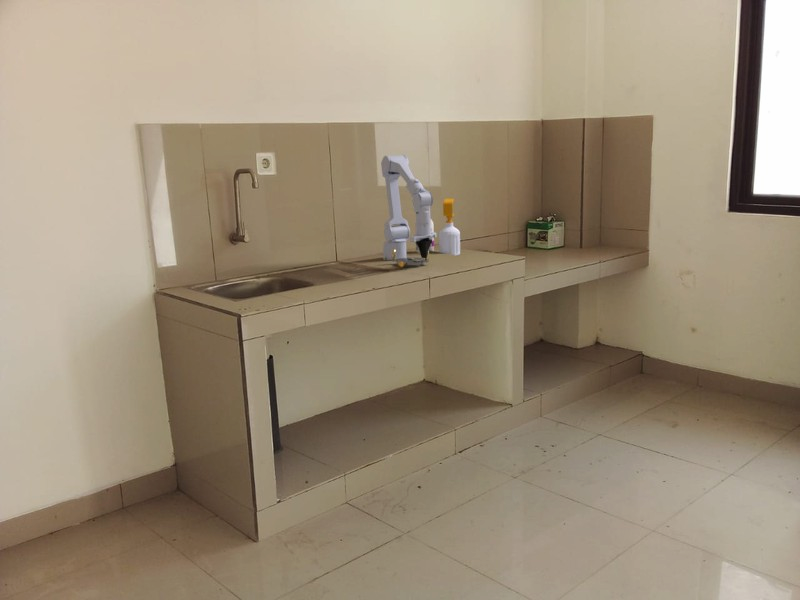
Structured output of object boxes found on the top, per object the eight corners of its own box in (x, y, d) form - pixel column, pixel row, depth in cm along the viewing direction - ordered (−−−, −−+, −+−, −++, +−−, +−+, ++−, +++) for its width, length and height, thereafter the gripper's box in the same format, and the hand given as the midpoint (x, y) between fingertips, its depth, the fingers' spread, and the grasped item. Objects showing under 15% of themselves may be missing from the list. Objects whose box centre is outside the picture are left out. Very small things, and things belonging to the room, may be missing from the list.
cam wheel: (381, 269, 263) (380, 254, 262) (397, 261, 279) (396, 247, 277) (419, 270, 258) (419, 255, 257) (433, 262, 273) (432, 248, 272)
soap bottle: (461, 253, 303) (461, 197, 298) (457, 256, 295) (457, 199, 289) (442, 253, 306) (441, 198, 300) (437, 256, 297) (436, 200, 291)
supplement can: (425, 250, 314) (424, 218, 311) (437, 252, 308) (437, 219, 304) (412, 252, 309) (411, 219, 306) (424, 254, 303) (423, 221, 299)
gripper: (420, 225, 255) (421, 261, 258) (442, 221, 266) (443, 255, 269) (405, 225, 260) (406, 260, 263) (428, 221, 271) (428, 254, 274)
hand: (424, 257), depth 266 cm, fingers closed
